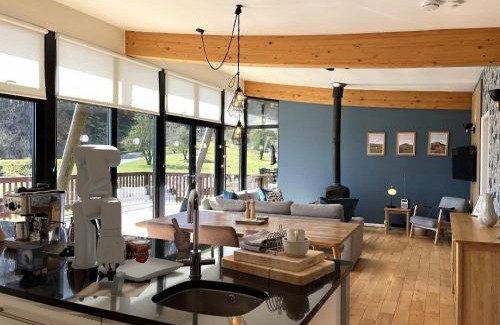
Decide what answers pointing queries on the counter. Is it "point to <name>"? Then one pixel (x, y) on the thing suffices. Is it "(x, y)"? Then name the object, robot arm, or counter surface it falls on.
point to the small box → (29, 257)
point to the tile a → (105, 283)
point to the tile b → (117, 282)
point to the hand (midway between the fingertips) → (111, 280)
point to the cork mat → (126, 291)
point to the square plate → (146, 268)
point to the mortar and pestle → (181, 241)
